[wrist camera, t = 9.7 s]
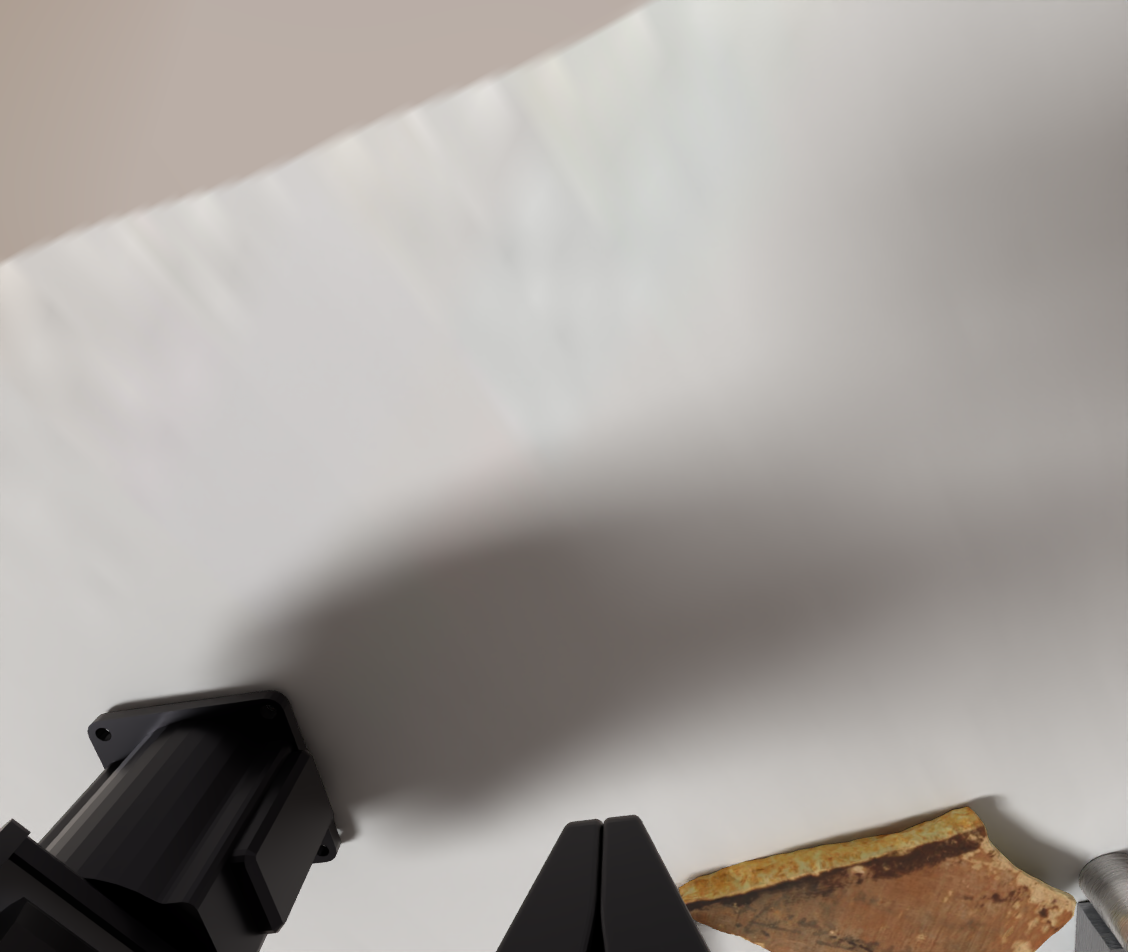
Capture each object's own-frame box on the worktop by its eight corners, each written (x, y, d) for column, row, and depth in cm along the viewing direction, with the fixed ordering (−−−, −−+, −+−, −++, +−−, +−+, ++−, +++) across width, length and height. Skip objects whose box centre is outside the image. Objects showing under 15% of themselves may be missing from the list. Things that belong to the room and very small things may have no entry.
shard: (662, 872, 25) (667, 920, 23) (783, 708, 22) (798, 749, 21) (928, 985, 26) (951, 1038, 24) (1071, 841, 23) (1108, 890, 22)
